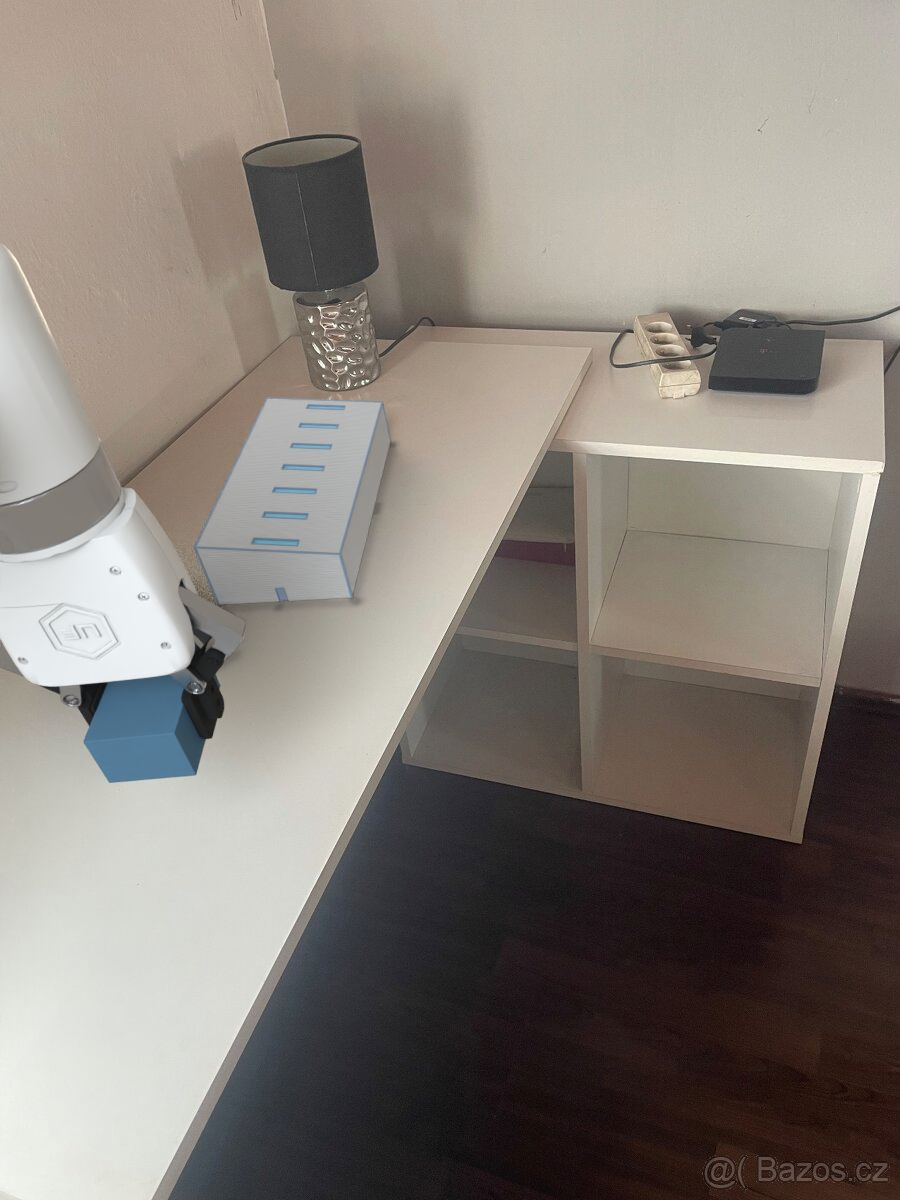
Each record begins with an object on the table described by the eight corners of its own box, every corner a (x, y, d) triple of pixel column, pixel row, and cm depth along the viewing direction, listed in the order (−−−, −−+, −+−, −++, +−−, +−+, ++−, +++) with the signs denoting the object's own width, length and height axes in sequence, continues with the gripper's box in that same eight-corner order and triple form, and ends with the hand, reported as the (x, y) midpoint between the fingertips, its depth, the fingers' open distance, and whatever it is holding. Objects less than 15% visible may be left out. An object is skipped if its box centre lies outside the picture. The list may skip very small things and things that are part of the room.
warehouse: (352, 598, 87) (336, 538, 82) (217, 605, 89) (193, 547, 84) (391, 441, 109) (380, 387, 104) (282, 450, 112) (266, 397, 107)
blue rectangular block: (109, 783, 54) (82, 742, 51) (141, 693, 59) (119, 651, 57) (196, 775, 53) (174, 733, 50) (220, 685, 59) (202, 643, 56)
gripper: (-155, 559, 42) (16, 786, 54) (187, 519, 40) (286, 761, 52) (-84, 474, 48) (57, 696, 59) (218, 436, 46) (301, 672, 58)
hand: (163, 725), depth 56 cm, fingers closed on blue rectangular block, 5 cm apart
